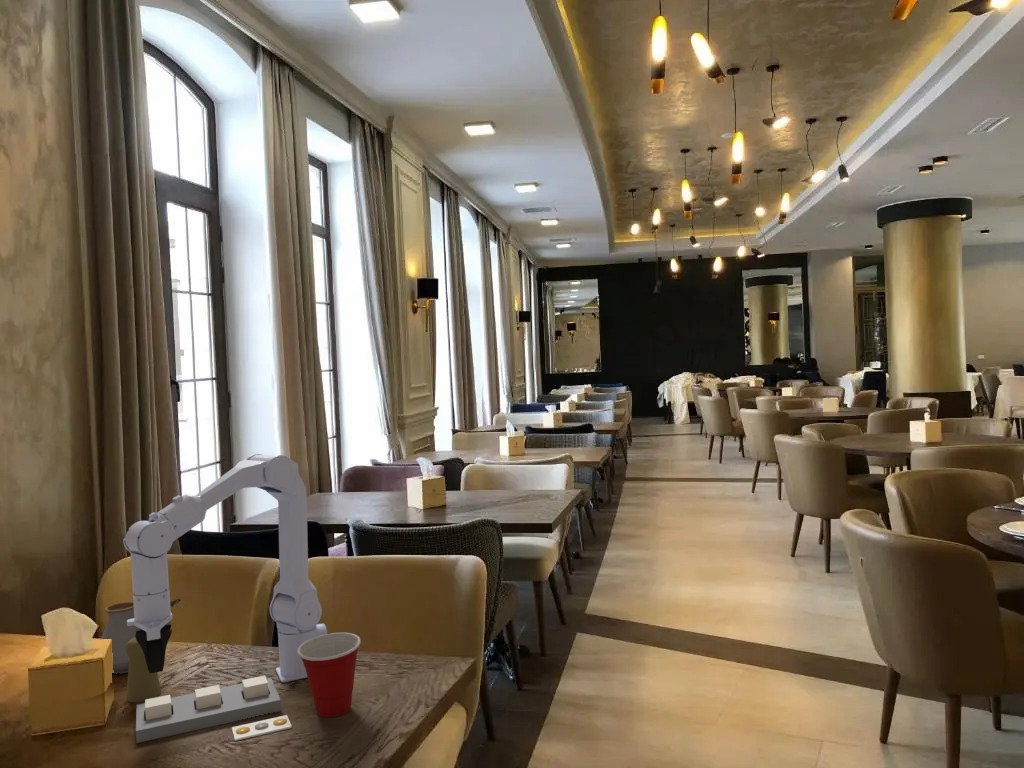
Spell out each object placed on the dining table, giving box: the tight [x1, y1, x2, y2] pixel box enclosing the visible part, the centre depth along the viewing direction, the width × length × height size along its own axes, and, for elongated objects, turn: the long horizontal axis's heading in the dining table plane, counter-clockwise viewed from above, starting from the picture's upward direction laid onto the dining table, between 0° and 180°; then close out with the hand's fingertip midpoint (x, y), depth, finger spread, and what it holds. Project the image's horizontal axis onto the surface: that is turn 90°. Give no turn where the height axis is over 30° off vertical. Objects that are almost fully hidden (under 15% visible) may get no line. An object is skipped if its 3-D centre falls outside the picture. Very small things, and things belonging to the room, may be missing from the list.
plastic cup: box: [297, 632, 361, 718], centre depth 138 cm, size 11×11×12 cm
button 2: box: [241, 675, 269, 699], centre depth 143 cm, size 4×4×2 cm
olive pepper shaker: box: [125, 637, 162, 703], centre depth 150 cm, size 6×6×11 cm
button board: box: [135, 677, 282, 744], centre depth 140 cm, size 23×12×2 cm, turn 115°
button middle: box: [194, 684, 221, 709], centre depth 140 cm, size 4×4×2 cm
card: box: [231, 714, 293, 742], centre depth 132 cm, size 9×5×1 cm, turn 115°
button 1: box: [144, 694, 172, 720], centre depth 136 cm, size 4×4×2 cm
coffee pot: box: [100, 598, 186, 675], centre depth 164 cm, size 21×12×15 cm, turn 71°
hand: (156, 669), depth 136 cm, fingers closed
